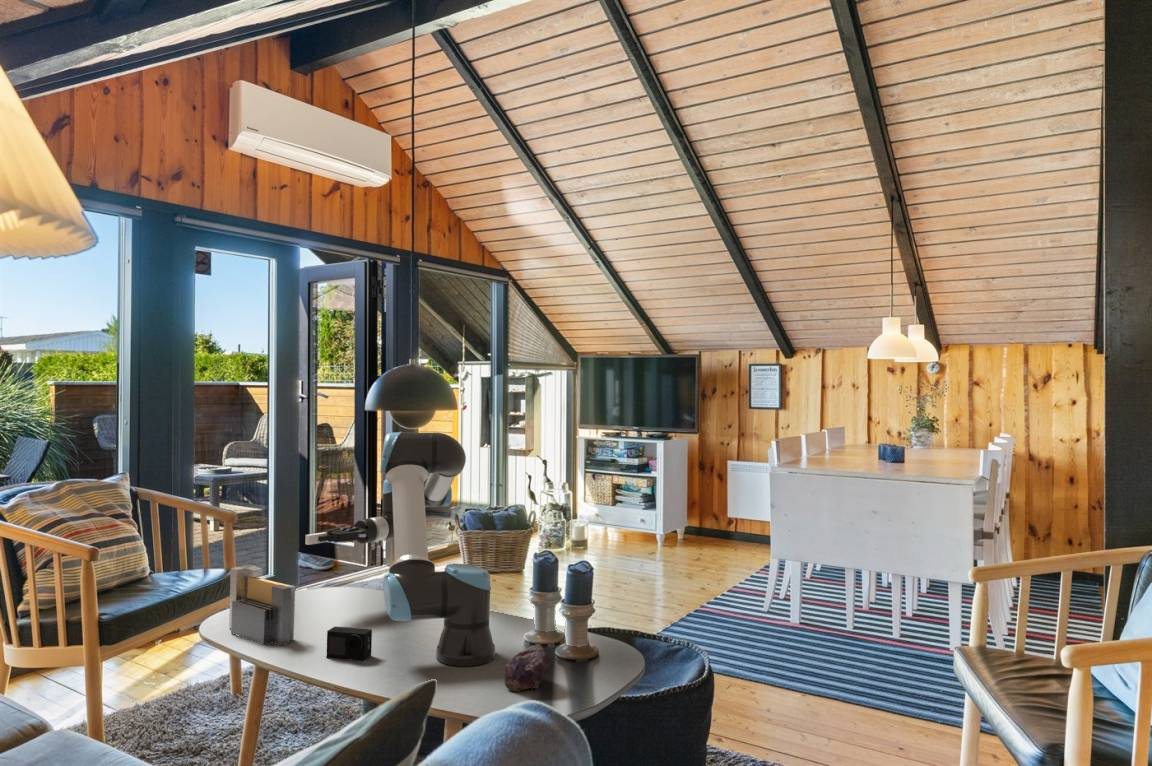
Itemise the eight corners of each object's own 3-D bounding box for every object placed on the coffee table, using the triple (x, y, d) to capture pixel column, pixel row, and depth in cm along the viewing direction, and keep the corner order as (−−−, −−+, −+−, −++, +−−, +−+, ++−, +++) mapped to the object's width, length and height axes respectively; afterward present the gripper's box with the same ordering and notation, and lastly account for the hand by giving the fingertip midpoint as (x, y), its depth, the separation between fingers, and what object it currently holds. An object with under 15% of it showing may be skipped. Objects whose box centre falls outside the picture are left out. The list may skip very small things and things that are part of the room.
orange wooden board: (295, 638, 214) (297, 586, 214) (287, 640, 212) (289, 588, 212) (252, 625, 225) (254, 575, 225) (244, 627, 223) (246, 577, 223)
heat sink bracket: (300, 640, 214) (302, 577, 214) (273, 648, 207) (275, 583, 207) (248, 623, 228) (250, 564, 228) (221, 630, 221) (223, 569, 221)
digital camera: (323, 659, 200) (324, 631, 200) (333, 652, 205) (334, 625, 205) (362, 663, 198) (362, 635, 198) (371, 656, 203) (372, 628, 203)
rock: (499, 694, 183) (535, 702, 178) (495, 658, 182) (532, 666, 177) (527, 671, 193) (562, 679, 188) (524, 638, 192) (559, 644, 187)
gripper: (384, 544, 246) (321, 555, 226) (356, 539, 253) (292, 550, 234) (384, 520, 246) (321, 529, 227) (356, 516, 253) (293, 524, 234)
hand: (307, 539), depth 230 cm, fingers closed
